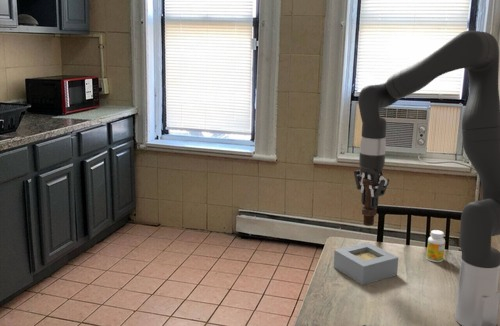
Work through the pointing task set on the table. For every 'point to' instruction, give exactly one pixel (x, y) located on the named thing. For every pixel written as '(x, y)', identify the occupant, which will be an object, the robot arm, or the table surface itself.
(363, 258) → the beige square tile
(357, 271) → the socket block
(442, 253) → the supplement bottle
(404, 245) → the table surface
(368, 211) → the bolt
